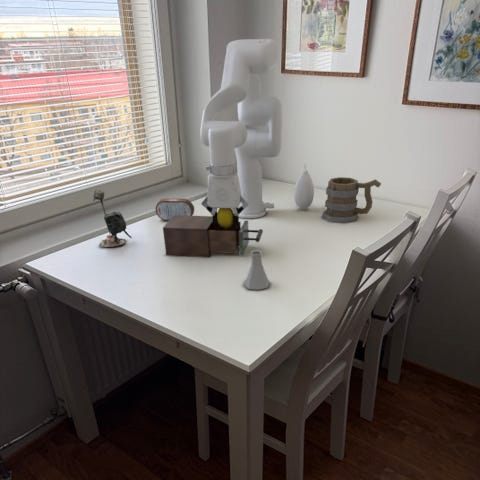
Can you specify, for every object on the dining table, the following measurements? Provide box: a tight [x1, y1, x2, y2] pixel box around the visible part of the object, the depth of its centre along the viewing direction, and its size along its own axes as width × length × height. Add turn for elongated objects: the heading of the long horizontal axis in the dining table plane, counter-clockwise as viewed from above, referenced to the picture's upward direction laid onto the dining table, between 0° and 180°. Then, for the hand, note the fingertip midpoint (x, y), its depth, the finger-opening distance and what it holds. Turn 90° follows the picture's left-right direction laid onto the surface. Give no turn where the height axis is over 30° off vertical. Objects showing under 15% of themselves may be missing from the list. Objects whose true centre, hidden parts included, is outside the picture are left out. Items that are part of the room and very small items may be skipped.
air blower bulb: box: [293, 163, 315, 211], centre depth 184 cm, size 8×8×18 cm
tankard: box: [322, 176, 382, 224], centre depth 174 cm, size 20×13×15 cm, turn 68°
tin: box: [155, 197, 195, 222], centre depth 180 cm, size 15×3×8 cm, turn 84°
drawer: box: [208, 220, 264, 256], centre depth 152 cm, size 19×11×8 cm, turn 80°
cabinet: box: [162, 215, 213, 258], centre depth 154 cm, size 15×12×10 cm
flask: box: [244, 249, 270, 291], centre depth 130 cm, size 7×7×10 cm
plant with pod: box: [92, 188, 133, 248], centre depth 158 cm, size 8×11×20 cm
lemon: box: [217, 208, 234, 229], centre depth 149 cm, size 6×6×8 cm
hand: (226, 225), depth 151 cm, fingers closed on lemon, 5 cm apart
